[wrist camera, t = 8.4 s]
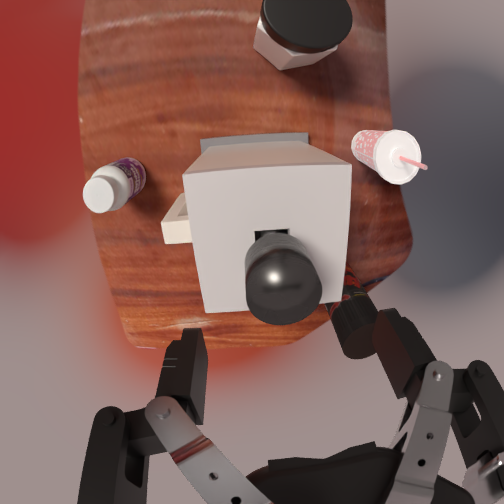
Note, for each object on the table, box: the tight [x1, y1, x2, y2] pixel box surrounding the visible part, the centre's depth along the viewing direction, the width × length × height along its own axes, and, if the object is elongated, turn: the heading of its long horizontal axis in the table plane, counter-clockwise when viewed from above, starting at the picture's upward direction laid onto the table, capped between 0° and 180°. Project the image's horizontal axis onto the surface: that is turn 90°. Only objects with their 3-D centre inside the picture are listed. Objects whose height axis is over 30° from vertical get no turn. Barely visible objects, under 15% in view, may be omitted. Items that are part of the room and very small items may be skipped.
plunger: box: [245, 229, 322, 325], centre depth 21 cm, size 8×8×16 cm
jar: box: [253, 0, 352, 70], centre depth 22 cm, size 9×8×12 cm
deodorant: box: [324, 262, 378, 359], centre depth 37 cm, size 6×6×15 cm
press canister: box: [161, 132, 352, 313], centre depth 28 cm, size 13×15×18 cm
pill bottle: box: [83, 158, 146, 213], centre depth 31 cm, size 5×5×10 cm
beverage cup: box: [351, 130, 427, 184], centre depth 28 cm, size 6×6×14 cm
